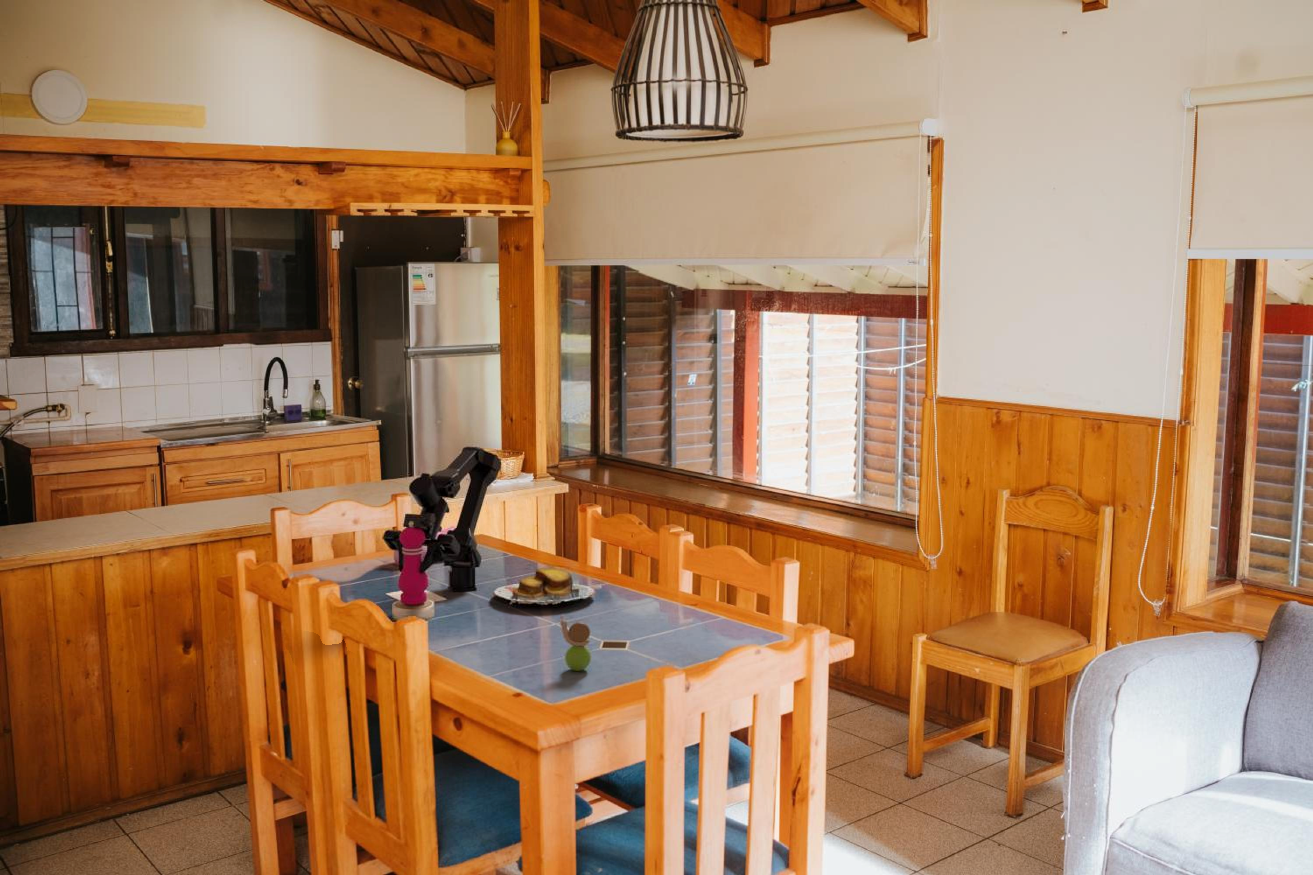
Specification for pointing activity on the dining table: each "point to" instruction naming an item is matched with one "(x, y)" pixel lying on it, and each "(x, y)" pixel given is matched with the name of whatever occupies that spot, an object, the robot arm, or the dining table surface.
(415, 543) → the pepper mill
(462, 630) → the dining table surface
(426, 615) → the round bowl
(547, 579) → the food on plate
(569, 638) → the snail figurine
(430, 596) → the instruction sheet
